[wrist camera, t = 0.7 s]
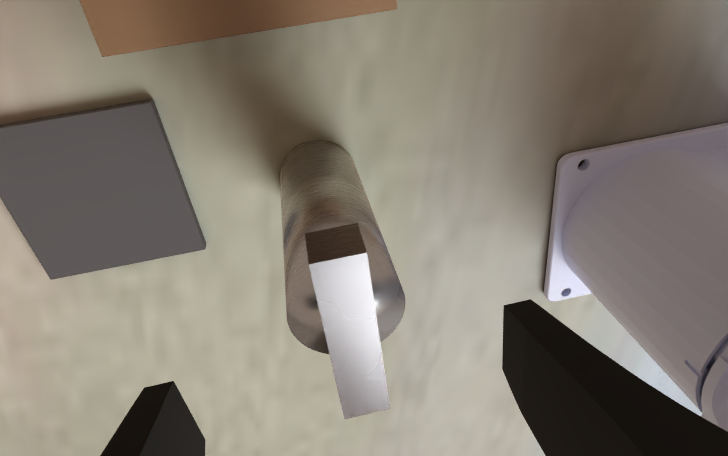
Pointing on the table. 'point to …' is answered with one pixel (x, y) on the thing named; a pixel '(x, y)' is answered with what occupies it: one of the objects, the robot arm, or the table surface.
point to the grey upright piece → (338, 272)
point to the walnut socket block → (206, 19)
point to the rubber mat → (96, 189)
